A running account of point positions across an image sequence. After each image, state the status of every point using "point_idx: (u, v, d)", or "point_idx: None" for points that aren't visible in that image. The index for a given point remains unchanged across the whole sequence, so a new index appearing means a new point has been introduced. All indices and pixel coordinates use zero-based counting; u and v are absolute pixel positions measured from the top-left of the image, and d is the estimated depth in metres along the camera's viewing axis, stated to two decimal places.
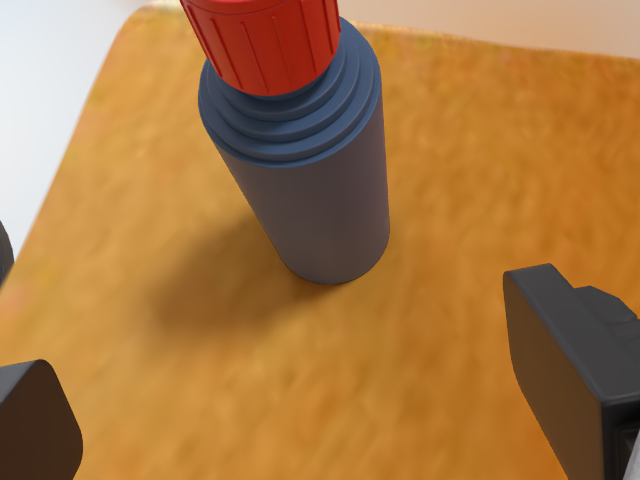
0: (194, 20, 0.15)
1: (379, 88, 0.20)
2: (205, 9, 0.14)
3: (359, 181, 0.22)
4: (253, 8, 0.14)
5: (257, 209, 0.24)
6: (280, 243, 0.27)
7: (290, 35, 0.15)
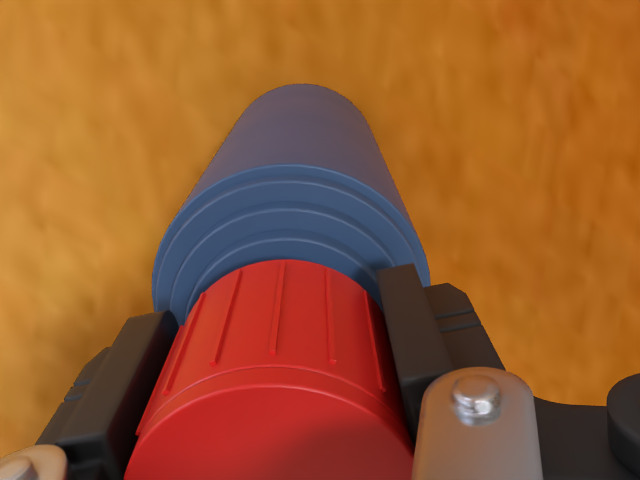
0: None
1: (424, 259, 0.13)
2: None
3: None
4: None
5: None
6: None
7: None
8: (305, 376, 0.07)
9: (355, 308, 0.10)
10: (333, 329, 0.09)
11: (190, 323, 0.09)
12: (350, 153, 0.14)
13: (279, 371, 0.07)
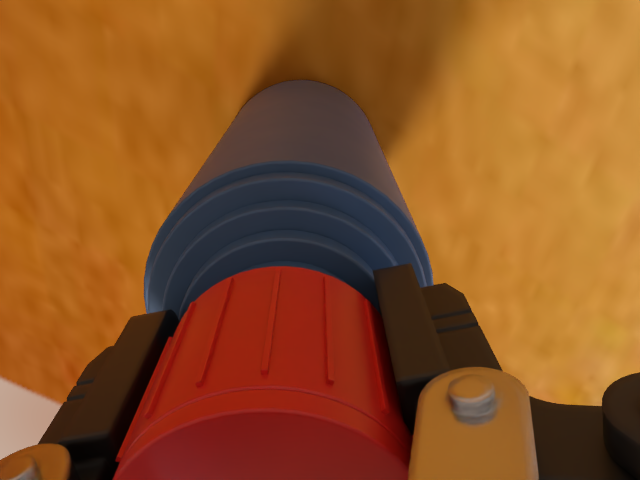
0: None
1: None
2: None
3: None
4: None
5: (323, 120, 0.16)
6: (310, 98, 0.19)
7: None
8: (300, 399, 0.07)
9: (356, 319, 0.09)
10: (331, 344, 0.08)
11: (177, 336, 0.09)
12: None
13: (271, 393, 0.07)
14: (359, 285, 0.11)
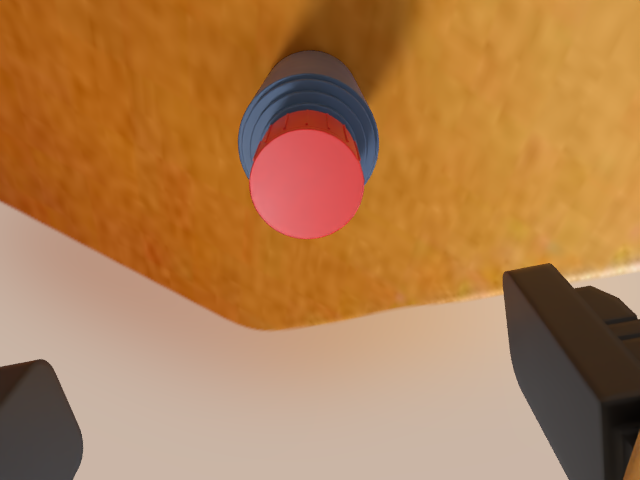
0: None
1: (243, 167, 0.27)
2: (304, 235, 0.22)
3: None
4: None
5: (326, 65, 0.30)
6: (318, 57, 0.33)
7: None
8: (319, 129, 0.20)
9: (339, 125, 0.22)
10: (329, 124, 0.21)
11: (268, 129, 0.22)
12: None
13: (309, 127, 0.20)
14: None
